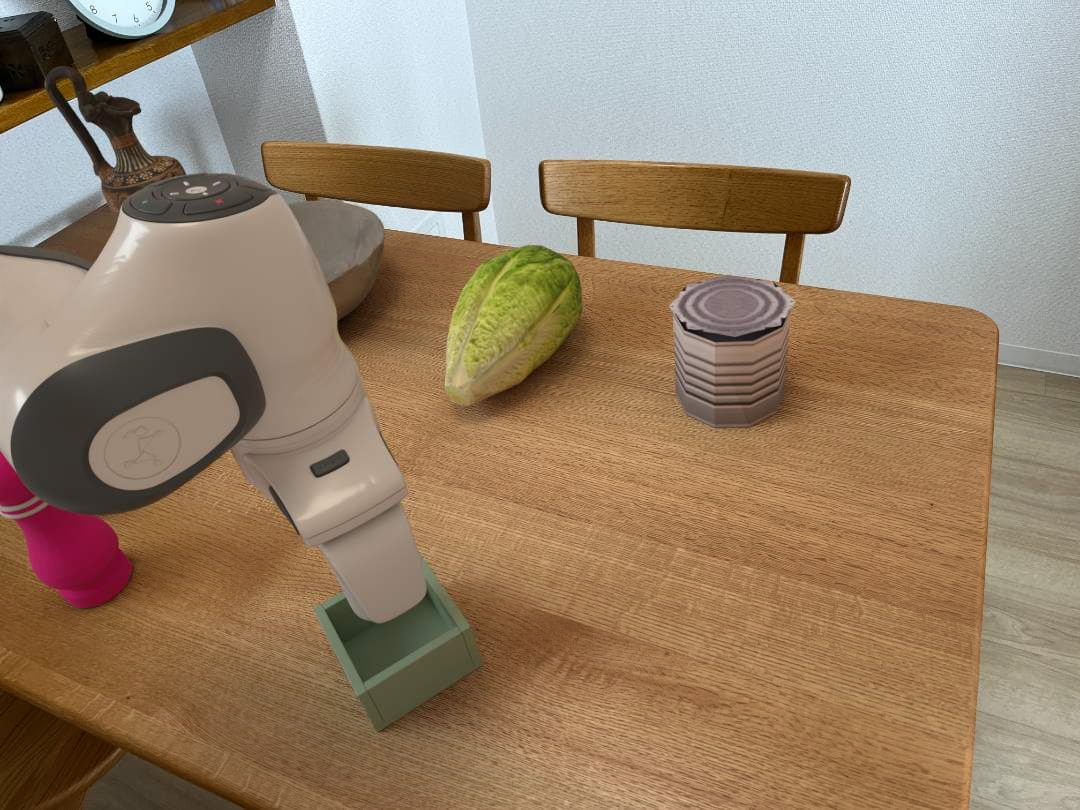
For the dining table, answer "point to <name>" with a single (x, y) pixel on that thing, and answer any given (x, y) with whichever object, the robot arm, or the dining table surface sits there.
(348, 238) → the bowl
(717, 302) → the can
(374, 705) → the bin
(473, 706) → the dining table surface
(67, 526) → the pepper mill
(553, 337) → the lettuce
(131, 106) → the vase
